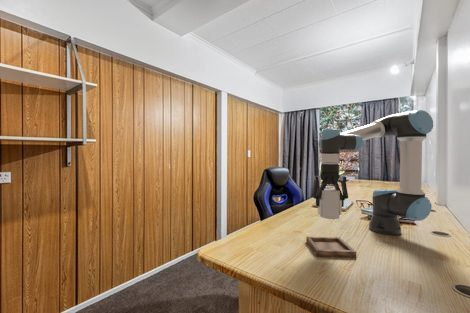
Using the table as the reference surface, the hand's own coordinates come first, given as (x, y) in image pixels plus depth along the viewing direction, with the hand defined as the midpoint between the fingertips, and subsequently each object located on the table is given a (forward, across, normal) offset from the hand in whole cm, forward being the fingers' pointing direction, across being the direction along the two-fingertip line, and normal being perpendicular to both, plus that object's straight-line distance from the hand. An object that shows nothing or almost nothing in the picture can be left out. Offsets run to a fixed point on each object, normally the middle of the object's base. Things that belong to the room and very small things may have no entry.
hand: (329, 213), depth 100 cm
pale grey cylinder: (+1, 0, 0) cm, 1 cm away
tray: (+16, 0, 0) cm, 16 cm away
